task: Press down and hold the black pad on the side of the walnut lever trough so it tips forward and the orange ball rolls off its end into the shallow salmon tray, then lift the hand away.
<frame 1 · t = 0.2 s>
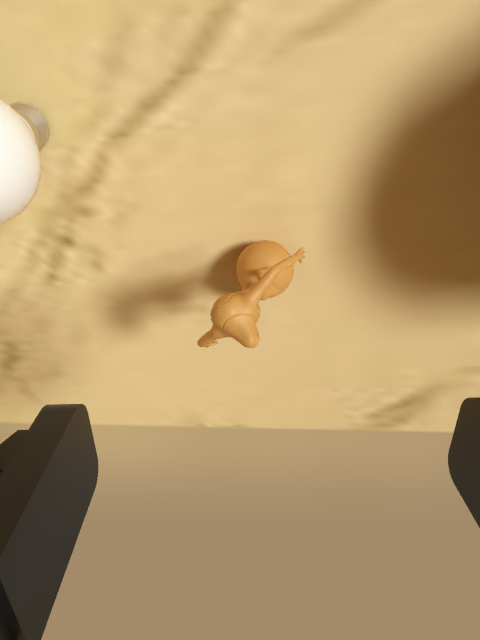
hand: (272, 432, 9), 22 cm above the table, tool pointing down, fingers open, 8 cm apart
lightbulb: (32, 124, 27), on the table
figurine: (252, 247, 32), on the table
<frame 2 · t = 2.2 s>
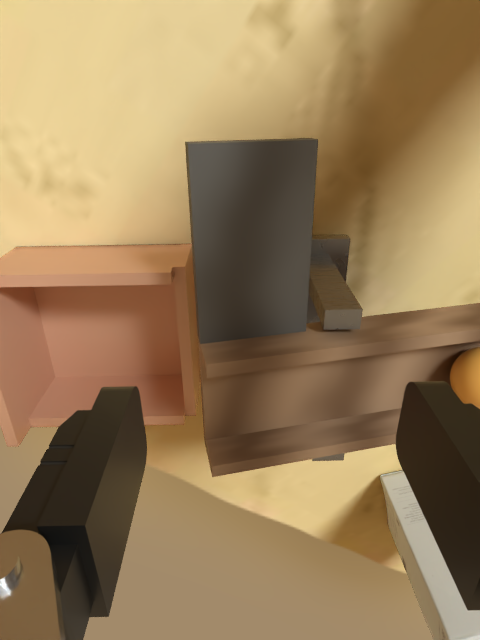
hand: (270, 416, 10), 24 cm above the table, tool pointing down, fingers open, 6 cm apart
lever stand: (308, 314, 35), on the table
lever trough: (378, 308, 24), point 10 cm above the table, hinge at -12.0°, touching ball
skincare box: (412, 494, 45), on the table
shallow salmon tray: (115, 317, 35), on the table
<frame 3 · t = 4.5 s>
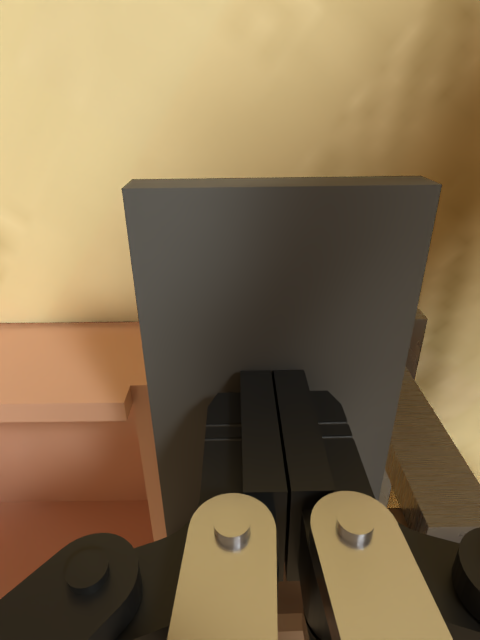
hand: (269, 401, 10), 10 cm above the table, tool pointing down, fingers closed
lever stand: (349, 419, 23), on the table
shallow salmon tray: (56, 423, 23), on the table
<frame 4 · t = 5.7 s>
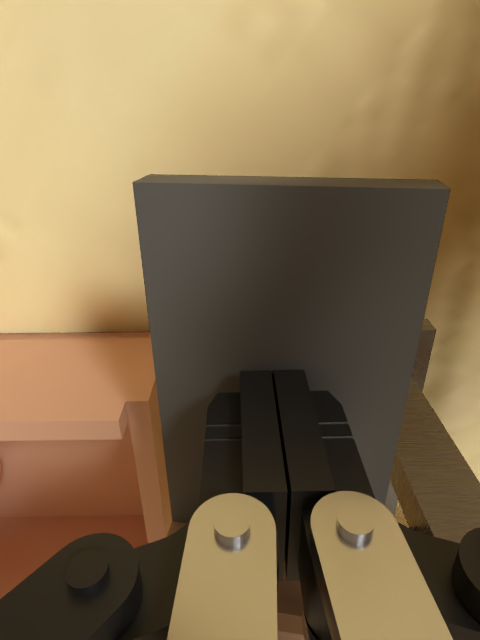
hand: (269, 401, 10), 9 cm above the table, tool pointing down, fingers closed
lever stand: (354, 432, 22), on the table
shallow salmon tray: (50, 436, 22), on the table
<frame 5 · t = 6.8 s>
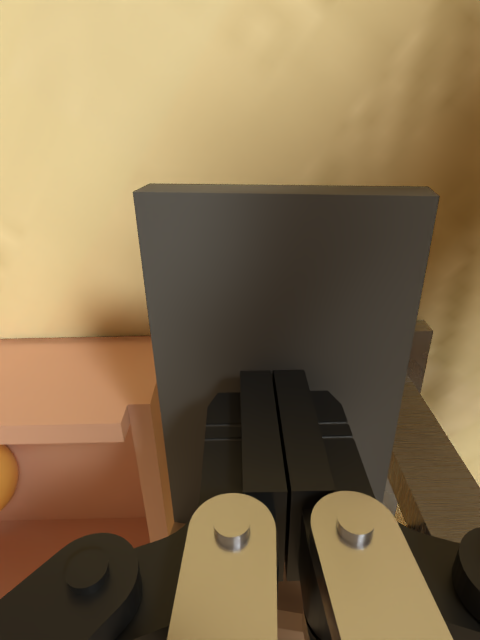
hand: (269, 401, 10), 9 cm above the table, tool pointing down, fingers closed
lever stand: (353, 433, 22), on the table
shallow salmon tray: (53, 439, 22), on the table
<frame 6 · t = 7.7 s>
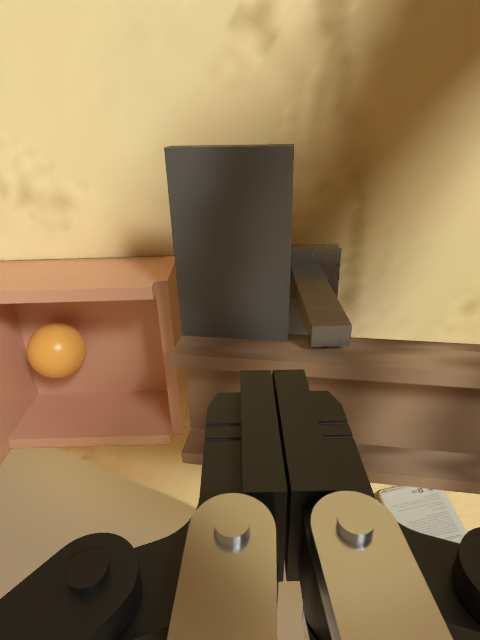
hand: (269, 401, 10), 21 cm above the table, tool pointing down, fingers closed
lever stand: (299, 326, 34), on the table
ball: (57, 350, 31), point 3 cm above the table, tilted 87°, touching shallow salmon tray
lever trough: (365, 330, 22), point 10 cm above the table, hinge at 10.2°
skincare box: (412, 510, 43), on the table
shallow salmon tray: (100, 332, 34), on the table
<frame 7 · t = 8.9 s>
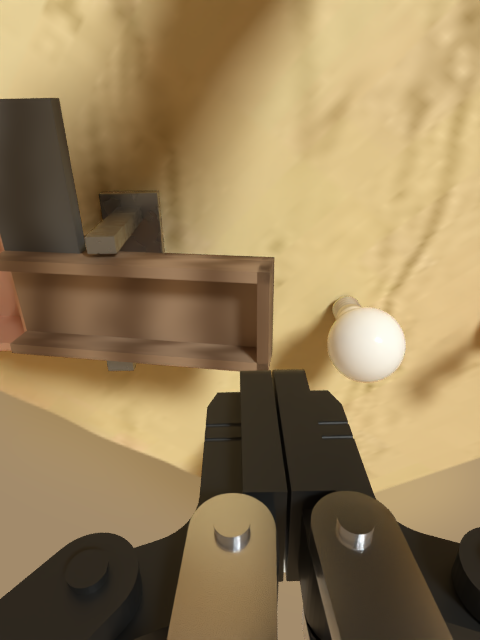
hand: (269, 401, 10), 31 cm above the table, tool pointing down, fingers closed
lever stand: (139, 261, 41), on the table
lightbulb: (343, 304, 44), on the table
lever trough: (126, 241, 30), point 10 cm above the table, hinge at 10.2°
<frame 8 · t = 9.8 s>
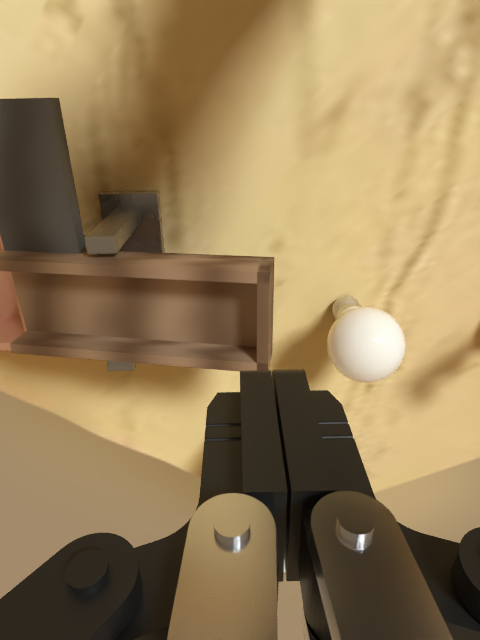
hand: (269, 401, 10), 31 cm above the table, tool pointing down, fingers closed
lever stand: (139, 261, 41), on the table
lightbulb: (343, 304, 44), on the table
lever trough: (126, 241, 30), point 10 cm above the table, hinge at 10.2°
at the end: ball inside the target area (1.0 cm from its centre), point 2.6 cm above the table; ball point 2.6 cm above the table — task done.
